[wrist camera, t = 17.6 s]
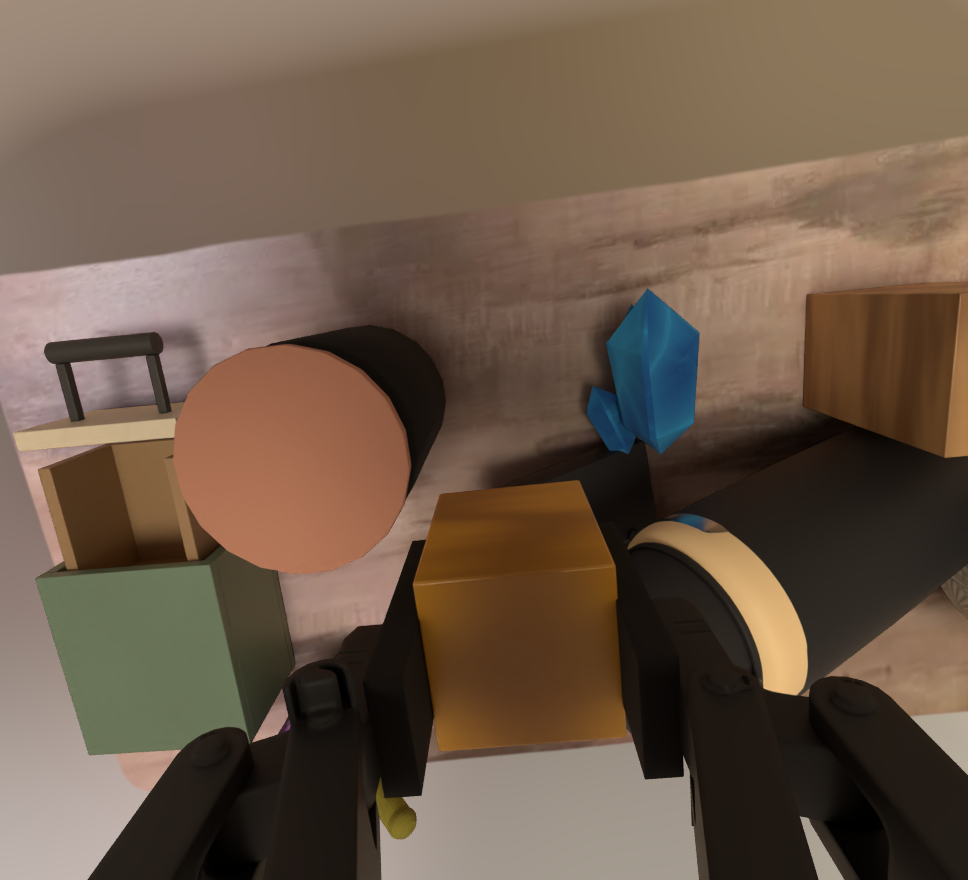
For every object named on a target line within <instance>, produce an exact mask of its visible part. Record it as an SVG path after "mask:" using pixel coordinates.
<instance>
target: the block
mask: <svg viewBox="0 0 968 880" xmlns="http://www.w3.org/2000/svg"><path fill="white" fill-rule="evenodd" d="M413 589H414V596H415V602H416V608H417V615H418V621H419V627H420V634H421V640H422V646H423V653H424V659H425V665H426V672H427V678H428V684H429V691H430V697H431V704H432V710H433V716H434V723H435V729H436V735H437V742H438V748H439V750H440V751H453V750H466V749H480V748H493V747H506V746H519V745H532V744H545V743H558V742H572V741H585V740H598V739H611V738H624V737H626V734H627V730H626V715H625V710H624V707H623V700H622V685H621V670H620V655H619V640H618V625H617V610H616V600H617V599H618V593H617V578H616V565H615V563H614V561H613V558H612V556H611V554H610V551H609V549H608V547H607V544H606V542H605V540H604V537H603V535H602V533H601V530H600V528H599V526H598V523H597V521H596V519H595V516H594V514H593V512H592V509H591V507H590V504H589V502H588V500H587V497H586V495H585V493H584V490H583V488H582V486H581V483H580V481H578V480H575V481H565V482H555V483H545V484H535V485H525V486H515V487H505V488H495V489H485V490H475V491H465V492H455V493H445V494H440V496H439V499H438V502H437V506H436V509H435V512H434V516H433V519H432V522H431V526H430V529H429V532H428V536H427V539H426V542H425V546H424V549H423V552H422V555H421V559H420V562H419V565H418V569H417V572H416V575H415V579H414V582H413Z"/></svg>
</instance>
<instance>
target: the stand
mask: <svg viewBox="0 0 968 880" xmlns="http://www.w3.org/2000/svg"><path fill="white" fill-rule="evenodd" d="M803 406H804V407H806V408H809V409H812V410H815V411H817V412H820V413H823V414H826V415H828V416H831V417H834V418H837V419H839V420H842V421H845V422H848V423H850V424H853V425H856V426H859V427H861V428H864V429H867V430H870V431H872V432H875V433H878V434H881V435H884V436H886V437H889V438H892V439H895V440H897V441H900V442H903V443H906V444H908V445H911V446H914V447H917V448H919V449H922V450H925V451H928V452H930V453H933V454H936V455H939V456H941V457H944V458H948V457H960V456H968V282H941V283H920V284H909V285H899V286H889V287H878V288H868V289H858V290H847V291H837V292H827V293H816V294H808V295H807V309H806V339H805V368H804V398H803Z"/></svg>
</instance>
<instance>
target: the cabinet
mask: <svg viewBox="0 0 968 880" xmlns="http://www.w3.org/2000/svg"><path fill="white" fill-rule="evenodd" d="M35 580H36V583H37V587H38V590H39V593H40V596H41V600H42V603H43V606H44V610H45V613H46V616H47V619H48V623H49V626H50V629H51V632H52V636H53V639H54V642H55V646H56V649H57V652H58V656H59V659H60V662H61V665H62V669H63V672H64V675H65V678H66V682H67V685H68V688H69V692H70V695H71V698H72V701H73V705H74V708H75V711H76V714H77V718H78V721H79V724H80V728H81V731H82V734H83V737H84V741H85V744H86V747H87V751H88V754H89V755H101V754H118V753H134V752H150V751H166V750H182V749H183V748H184V747H185V746H186V745H187V744H188V743H190V742H191V741H192V740H194V739H195V738H197V737H198V736H200V735H202V734H204V733H206V732H209V731H211V730H214V729H218V728H223V727H237V728H240V729H242V730H243V731H245V732H246V734H247V737H248V740H249V744H250V743H252V741H253V739H254V737H255V736H256V734H257V732H258V730H259V728H260V727H261V725H262V723H263V721H264V719H265V718H266V716H267V714H268V712H269V711H270V709H271V707H272V705H273V703H274V702H275V700H276V698H277V696H278V694H279V693H280V691H281V689H282V687H283V685H284V683H285V681H286V679H287V678H288V676H289V675H290V673H291V671H292V670H293V668H294V666H295V661H294V656H293V650H292V645H291V640H290V635H289V630H288V625H287V620H286V615H285V610H284V605H283V600H282V595H281V589H280V584H279V579H278V574H277V571H276V570H271V569H266V568H260V567H258V566H256V565H254V564H252V563H250V562H249V561H247V560H245V559H243V558H241V557H239V556H237V555H235V554H233V553H231V552H229V551H227V550H226V549H225V548H224V547H223V546H222V545H221V546H220V547H219V548H217V549H216V550H215V551H214V552H213V553H212V554H211V555H210V556H208V557H207V558H206V559H205V560H204V561H192V562H179V563H166V564H154V565H141V566H128V567H116V568H103V569H90V570H78V571H67V569H66V566H65V562H64V561H63V562H62V563H60V564H58V565H57V566H55V567H54V568H52V569H50V570H49V571H47V572H45V573H43V574H42V575H40V576H39V577H37V578H36V579H35Z"/></svg>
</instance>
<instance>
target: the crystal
mask: <svg viewBox="0 0 968 880" xmlns="http://www.w3.org/2000/svg"><path fill="white" fill-rule="evenodd" d="M606 346H607V351H608V355H609V360H610V364H611V369H612V374H613V378H614V383H615V388H616V392H617V395H616V394H613V393H610V392H608V391H605V390H603V389H600V388H597V387H595V386H593V387H592V391H591V395H590V399H589V403H588V407H587V411H586V415H587V416H588V418H589V419H590V421H591V422H592V424H593V426H594V427H595V429H596V430H597V432H598V433H599V435H600V437H601V438H602V440H603V441H604V443H605V444H606V446H607V447H608V449H609V450H610V451H622V452H624V453H626V454H629V452H630V450H631V448H632V446H633V443H634V440H635V437H636V436H637V437H639V438H640V439H641V440H642V441H644V442H645V443H646V444H648V445H649V446H650V447H652V448H653V449H654V450H656V451H657V452H658V453H660V454H662V453H663V452H664V451H665V450H666V449H667V448H668V447H669V446H670V445H671V444H672V443H673V442H674V441H675V440H677V439H678V438H679V437H680V436H681V435H682V434H683V433H684V432H685V431H686V430H687V429H688V428H689V427H690V426H691V425H692V424H693V423H694V415H695V398H696V382H697V365H698V349H699V332H698V331H697V330H696V329H695V328H693V327H692V326H691V325H690V324H689V323H688V322H686V321H685V320H684V319H683V318H682V317H681V316H679V315H678V314H677V313H676V312H675V311H674V310H672V309H671V308H670V307H669V306H668V305H667V304H665V303H664V302H663V301H662V300H661V299H660V298H658V297H657V296H656V295H655V294H654V293H653V292H651V291H650V290H649V289H647V290H646V291H645V293H644V294H643V295H642V297H641V298H640V299H639V301H638V302H637V303H636V305H635V306H633V305H632V304H631V306H630V308H629V310H628V312H627V314H626V316H625V318H624V320H623V322H622V323H621V324H620V326H619V327H618V328H617V330H616V331H615V332H614V334H613V335H612V336H611V338H610V339H609V340H608V342H607V343H606ZM635 435H636V436H635Z"/></svg>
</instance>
